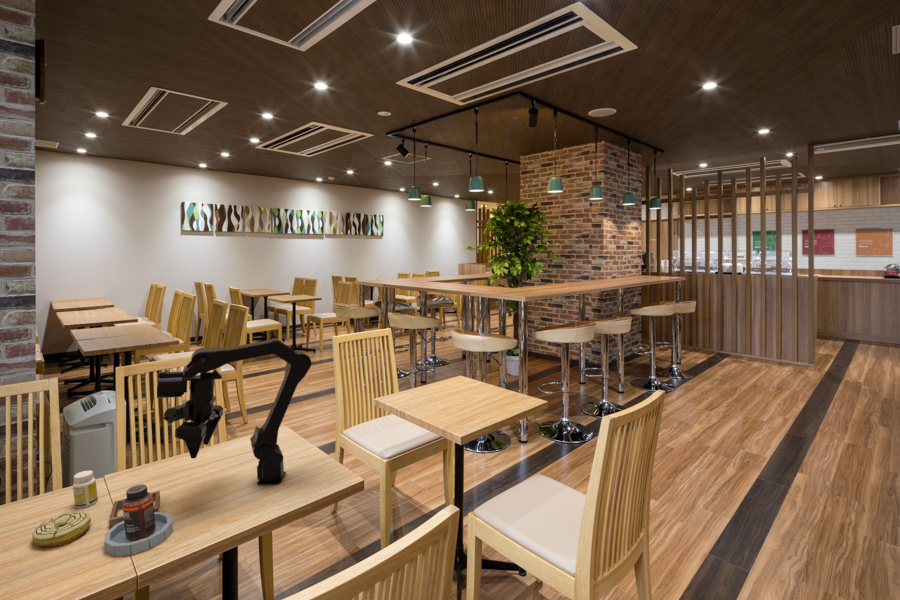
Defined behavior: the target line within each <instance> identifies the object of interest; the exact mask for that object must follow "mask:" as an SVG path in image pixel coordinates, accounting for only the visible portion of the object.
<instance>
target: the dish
mask: <svg viewBox="0 0 900 600" xmlns="http://www.w3.org/2000/svg"><path fill="white" fill-rule="evenodd" d="M154 514H155V524H156V528H155V531H154V532H153V533H152V534H150V535H149V536H147V537H145V538H142V539H139V540H128V539H127V538H126V535H125V526H124V521H122V522H120V523H118V524H116V525H114V526H113V527H112V528H111V529H110V528H109V530H108V531H107V532H105V534H104V542H103V543H104V552H105V553H107V554H108V553H109V554H108V555H110V554H111V556H113V557H123V556H124V557H125V556H134V555H136V554H137V555H138V554H140V553H143V552H145V551H148V550H151V549H153V548H155V547H156V546H158V545H160V544H161V543H163V542H164V541H166V540H167V539H168V538H169V536H171V534H172V533H173V531H174V529H173V519H172V514H170V513H167V512H164V511H159V512H154Z"/></svg>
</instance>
